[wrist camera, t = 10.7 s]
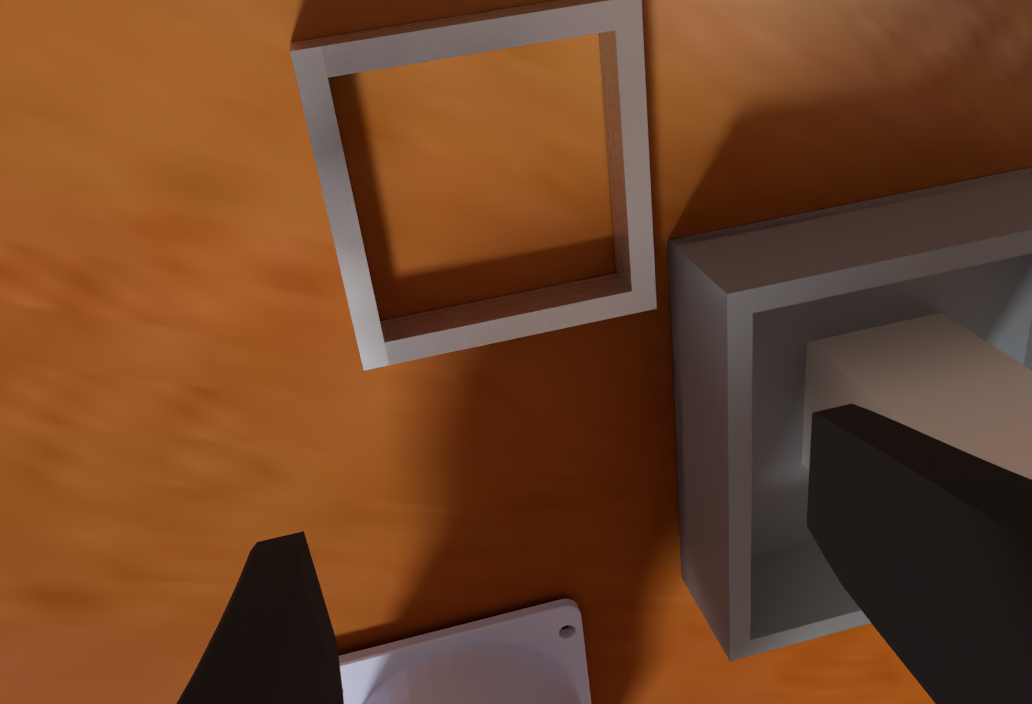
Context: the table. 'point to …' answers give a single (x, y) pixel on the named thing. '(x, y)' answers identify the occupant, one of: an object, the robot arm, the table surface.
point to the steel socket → (632, 289)
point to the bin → (782, 366)
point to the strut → (927, 386)
